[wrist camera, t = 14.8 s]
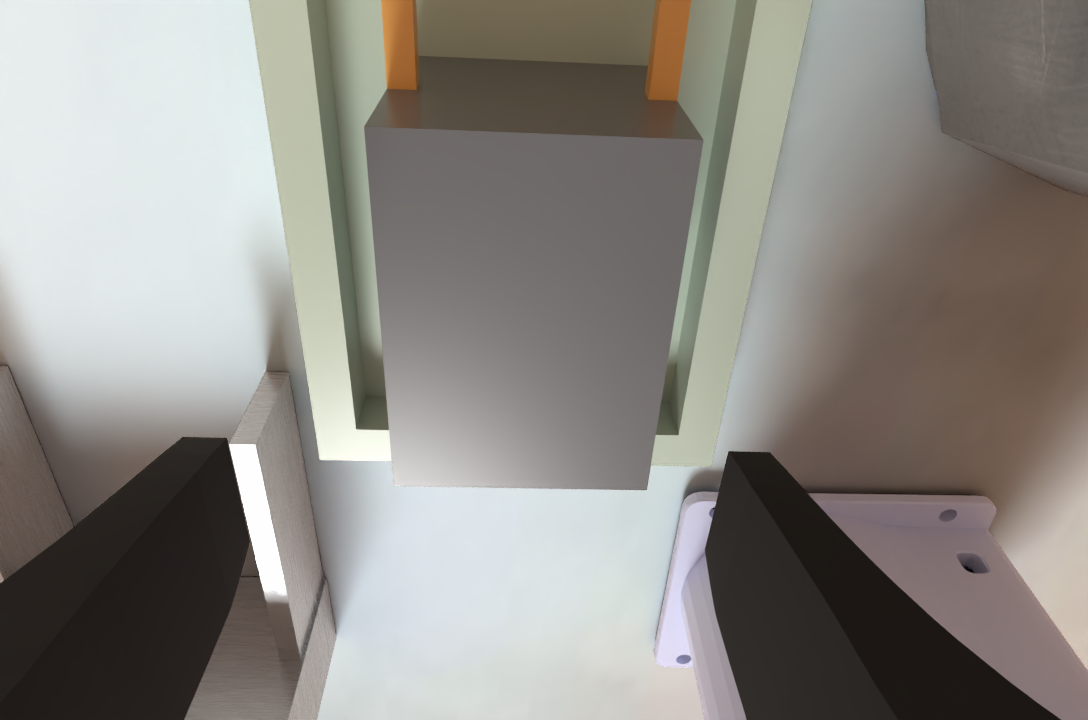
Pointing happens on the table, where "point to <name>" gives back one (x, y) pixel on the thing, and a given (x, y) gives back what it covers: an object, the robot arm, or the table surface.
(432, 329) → the orange handle block
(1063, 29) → the coffeepot
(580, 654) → the table surface
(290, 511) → the steel bay
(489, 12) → the green tray
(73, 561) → the robot arm
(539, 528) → the table surface
